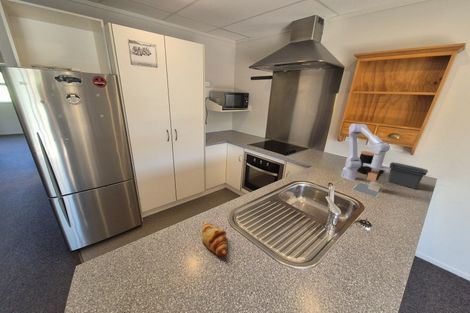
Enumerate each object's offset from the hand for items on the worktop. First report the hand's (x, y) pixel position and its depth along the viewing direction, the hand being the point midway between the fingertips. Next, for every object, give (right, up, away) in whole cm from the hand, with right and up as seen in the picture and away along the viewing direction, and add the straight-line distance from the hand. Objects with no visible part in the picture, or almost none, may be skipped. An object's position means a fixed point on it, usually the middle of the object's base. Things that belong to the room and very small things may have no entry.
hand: (372, 178), depth 129 cm
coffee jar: (+18, +1, +35) cm, 40 cm away
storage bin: (+35, -6, +16) cm, 39 cm away
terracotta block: (0, -1, 0) cm, 1 cm away
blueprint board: (-2, -9, +2) cm, 9 cm away
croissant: (-105, -21, -50) cm, 118 cm away
